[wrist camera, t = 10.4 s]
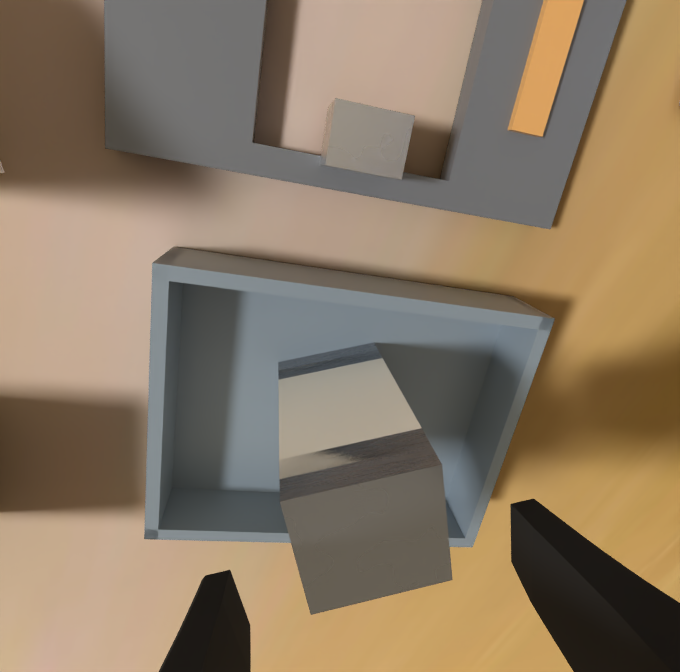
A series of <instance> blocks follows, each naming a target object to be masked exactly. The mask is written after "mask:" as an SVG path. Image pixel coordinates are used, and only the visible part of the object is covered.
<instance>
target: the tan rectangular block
mask: <svg viewBox="0 0 680 672" xmlns="http://www.w3.org/2000/svg"><path fill="white" fill-rule="evenodd" d="M278 390H279V487H280V505H281V508H282V512H283V516H284V519H285V523H286V526H287V530H288V534H289V537H290V541H291V545H292V548H293V552H294V555H295V559H296V563H297V566H298V570H299V574H300V577H301V581H302V584H303V588H304V592H305V595H306V599H307V603H308V606H309V610H310V613H311V615H312V614H316V613H320V612H324V611H328V610H332V609H336V608H341V607H345V606H349V605H353V604H357V603H361V602H365V601H369V600H373V599H377V598H381V597H385V596H389V595H393V594H397V593H401V592H406V591H410V590H414V589H418V588H422V587H426V586H430V585H434V584H438V583H442V582H446V581H450V580H452V570H451V559H450V547H449V536H448V525H447V513H446V502H445V490H444V479H443V468H442V463H441V462H440V460H439V458H438V456H437V454H436V453H435V451H434V449H433V447H432V446H431V444H430V442H429V440H428V438H427V437H426V435H425V433H424V431H423V429H422V428H421V426H420V424H419V422H418V421H417V419H416V417H415V415H414V413H413V412H412V410H411V408H410V406H409V404H408V403H407V401H406V399H405V397H404V396H403V394H402V392H401V390H400V388H399V387H398V385H397V383H396V381H395V379H394V378H393V376H392V374H391V372H390V371H389V369H388V367H387V365H386V363H385V362H384V360H383V358H382V356H381V355H380V353H379V351H378V349H377V347H376V346H375V344H374V342H373V343H368V344H363V345H358V346H354V347H349V348H344V349H339V350H334V351H329V352H324V353H319V354H315V355H310V356H305V357H300V358H295V359H290V360H285V361H280V362H278Z"/></svg>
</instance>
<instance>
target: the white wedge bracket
mask: <svg viewBox="0 0 680 672" xmlns="http://www.w3.org/2000/svg"><path fill="white" fill-rule="evenodd" d="M0 173H4V170H3V167H2V164H1V161H0Z"/></svg>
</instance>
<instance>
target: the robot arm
mask: <svg viewBox="0 0 680 672" xmlns="http://www.w3.org/2000/svg"><path fill="white" fill-rule="evenodd" d="M511 562H512V564H513V566H514V568H515V570H516V572H517V574H518V576H519V579H520V581H521V583H522V585H523V587H524V589H525V591H526V593H527V595H528V597H529V599H530V601H531V603H532V605H533V606H534V608H535V610H536V611H537V613H538V615H539V616H540V618H541V620H542V621H543V623H544V624H545V626H546V628H547V629H548V631H549V633H550V634H551V636H552V637H553V639H554V641H555V642H556V644H557V645H558V647H559V649H560V650H561V652H562V654H563V655H564V657H565V658H566V660H567V662H568V663H569V665H570V666H571V668H572V670H573V671H574V672H680V603H679V602H677V601H676V600H674V599H673V598H671V597H670V596H668V595H666V594H665V593H663V592H662V591H660V590H659V589H657V588H656V587H654V586H653V585H651V584H650V583H648V582H647V581H645V580H644V579H642V578H641V577H639V576H638V575H636V574H635V573H633V572H632V571H630V570H629V569H628V568H626V567H625V566H623V565H622V564H621V563H619V562H618V561H616V560H615V559H614V558H612V557H611V556H609V555H608V554H607V553H605V552H604V551H602V550H601V549H599V548H598V547H597V546H595V545H594V544H593V543H591V542H590V541H589V540H587V539H586V538H585V537H583V536H582V535H581V534H579V533H578V532H577V531H575V530H574V529H573V528H571V527H570V526H569V525H567V524H566V523H565V522H563V521H562V520H561V519H560V518H558V517H557V516H556V515H554V514H553V513H552V512H551V511H549V510H548V509H547V508H545V507H544V506H543V505H541V504H540V503H539V502H537V501H536V500H535V499H530V500H526V501H521V502H517V503H513V504H511ZM159 672H250V624H249V621H248V618H247V615H246V613H245V610H244V607H243V604H242V602H241V599H240V596H239V593H238V590H237V588H236V585H235V582H234V579H233V577H232V574H231V571H230V570H228V571H223V572H219V573H215V574H210V575H206V576H205V577H204V578H203V579H202V581H201V583H200V586H199V588H198V590H197V593H196V595H195V597H194V599H193V602H192V604H191V606H190V608H189V610H188V613H187V615H186V617H185V619H184V621H183V623H182V626H181V628H180V630H179V632H178V634H177V636H176V638H175V640H174V642H173V644H172V646H171V648H170V650H169V652H168V654H167V656H166V658H165V660H164V662H163V664H162V666H161V668H160V670H159Z"/></svg>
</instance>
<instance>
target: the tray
mask: <svg viewBox="0 0 680 672" xmlns="http://www.w3.org/2000/svg"><path fill="white" fill-rule="evenodd" d="M554 320H555V318H553V317H551V316H549V315H547V314H545V313H543V312H542V311H540V310H538V309H536V308H534V307H532V306H530V305H529V304H527V303H525V302H523V301H521V300H519V299H517V298H516V297H514V296H507V295H501V294H494V293H487V292H480V291H473V290H466V289H460V288H453V287H446V286H439V285H432V284H425V283H419V282H412V281H405V280H398V279H391V278H384V277H378V276H371V275H364V274H357V273H350V272H343V271H337V270H330V269H323V268H316V267H309V266H303V265H296V264H289V263H282V262H275V261H268V260H262V259H255V258H248V257H241V256H234V255H227V254H221V253H214V252H207V251H200V250H193V249H186V248H180V247H173V248H171V249H170V250H169V251H167V252H166V253H165V254H164V255H162V256H161V257H160V258H158V259H157V260H156V261H154V262H153V263H152V296H151V330H150V365H149V399H148V433H147V467H146V501H145V535H144V539H159V540H200V541H240V542H280V543H291V541H290V537H289V534H288V530H287V526H286V523H285V519H284V516H283V512H282V508H281V505H280V487H279V390H278V362H280V361H285V360H290V359H295V358H300V357H305V356H310V355H315V354H319V353H324V352H329V351H334V350H339V349H344V348H349V347H354V346H358V345H363V344H368V343H373V342H374V344H375V346H376V347H377V349H378V351H379V353H380V355H381V356H382V358H383V360H384V362H385V363H386V365H387V367H388V369H389V371H390V372H391V374H392V376H393V378H394V379H395V381H396V383H397V385H398V387H399V388H400V390H401V392H402V394H403V396H404V397H405V399H406V401H407V403H408V404H409V406H410V408H411V410H412V412H413V413H414V415H415V417H416V419H417V421H418V422H419V424H420V426H421V428H422V429H423V431H424V433H425V435H426V437H427V438H428V440H429V442H430V444H431V446H432V447H433V449H434V451H435V453H436V454H437V456H438V458H439V460H440V462H441V463H442V468H443V479H444V490H445V502H446V513H447V525H448V536H449V547H473V545H474V542H475V539H476V536H477V534H478V531H479V528H480V525H481V522H482V520H483V517H484V514H485V511H486V509H487V506H488V503H489V500H490V497H491V495H492V492H493V489H494V486H495V484H496V481H497V478H498V475H499V472H500V470H501V467H502V464H503V461H504V459H505V456H506V453H507V450H508V447H509V445H510V442H511V439H512V436H513V434H514V431H515V428H516V425H517V422H518V420H519V417H520V414H521V411H522V409H523V406H524V403H525V400H526V397H527V395H528V392H529V389H530V386H531V384H532V381H533V378H534V375H535V372H536V370H537V367H538V364H539V361H540V359H541V356H542V353H543V350H544V347H545V345H546V342H547V339H548V336H549V334H550V331H551V328H552V325H553V323H554Z"/></svg>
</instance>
